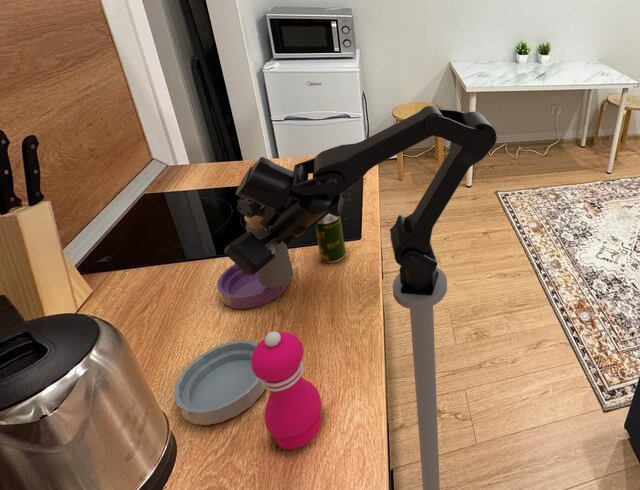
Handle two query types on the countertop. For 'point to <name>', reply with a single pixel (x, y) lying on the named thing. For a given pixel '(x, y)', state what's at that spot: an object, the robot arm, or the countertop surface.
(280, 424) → the pepper mill
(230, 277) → the bowl
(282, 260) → the bottle
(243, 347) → the bowl
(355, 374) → the countertop surface
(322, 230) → the beer can
